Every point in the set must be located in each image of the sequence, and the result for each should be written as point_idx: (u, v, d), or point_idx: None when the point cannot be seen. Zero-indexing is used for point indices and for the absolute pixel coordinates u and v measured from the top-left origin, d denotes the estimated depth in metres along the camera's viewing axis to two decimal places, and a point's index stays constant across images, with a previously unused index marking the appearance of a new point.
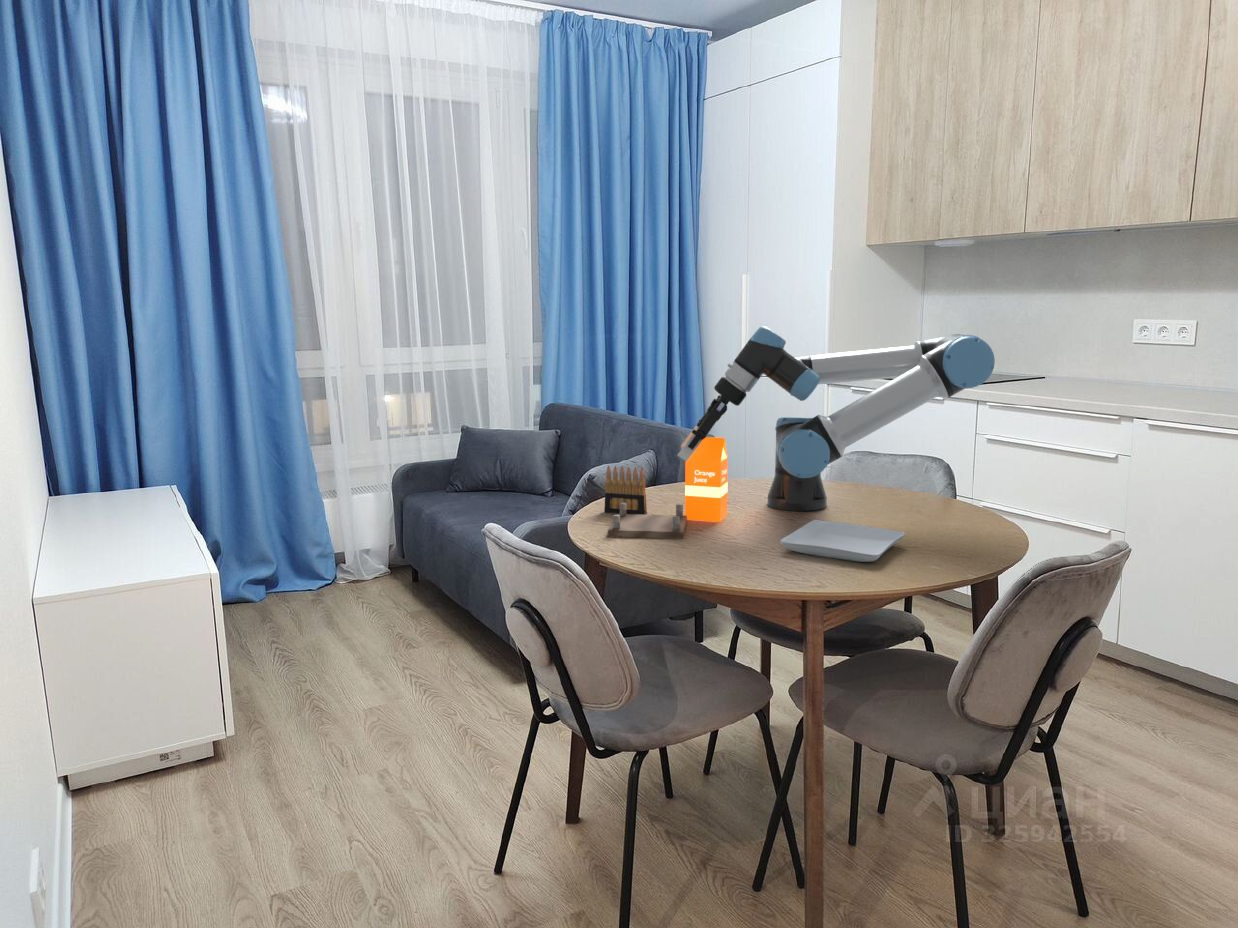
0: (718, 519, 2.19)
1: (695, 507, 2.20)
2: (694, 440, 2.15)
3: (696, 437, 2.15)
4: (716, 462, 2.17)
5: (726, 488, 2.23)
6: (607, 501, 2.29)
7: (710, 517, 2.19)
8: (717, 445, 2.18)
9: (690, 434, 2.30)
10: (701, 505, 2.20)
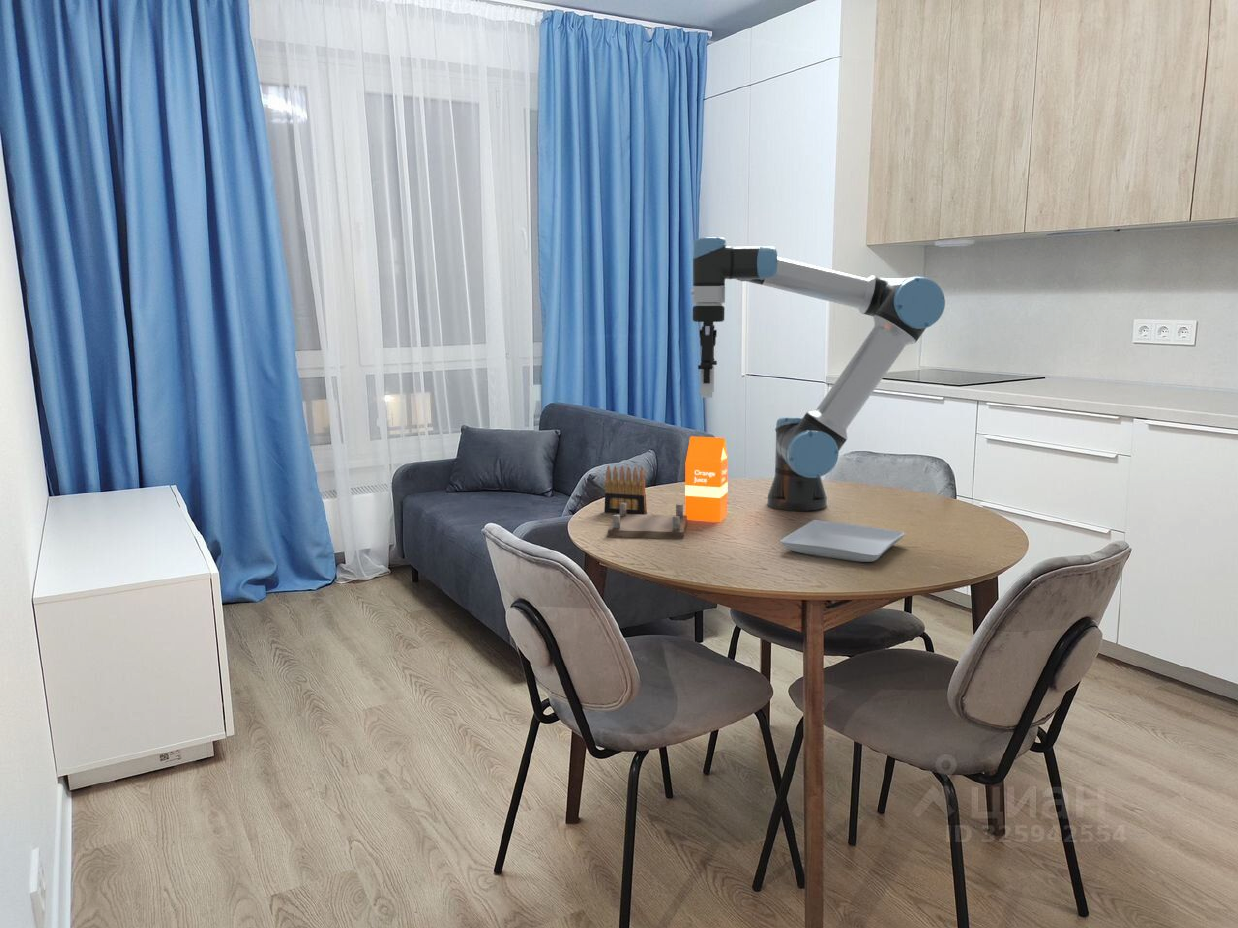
0: (718, 519, 2.19)
1: (695, 507, 2.20)
2: (705, 374, 2.09)
3: (705, 370, 2.09)
4: (716, 462, 2.17)
5: (726, 488, 2.23)
6: (607, 501, 2.29)
7: (710, 517, 2.19)
8: (717, 445, 2.18)
9: None
10: (701, 505, 2.20)
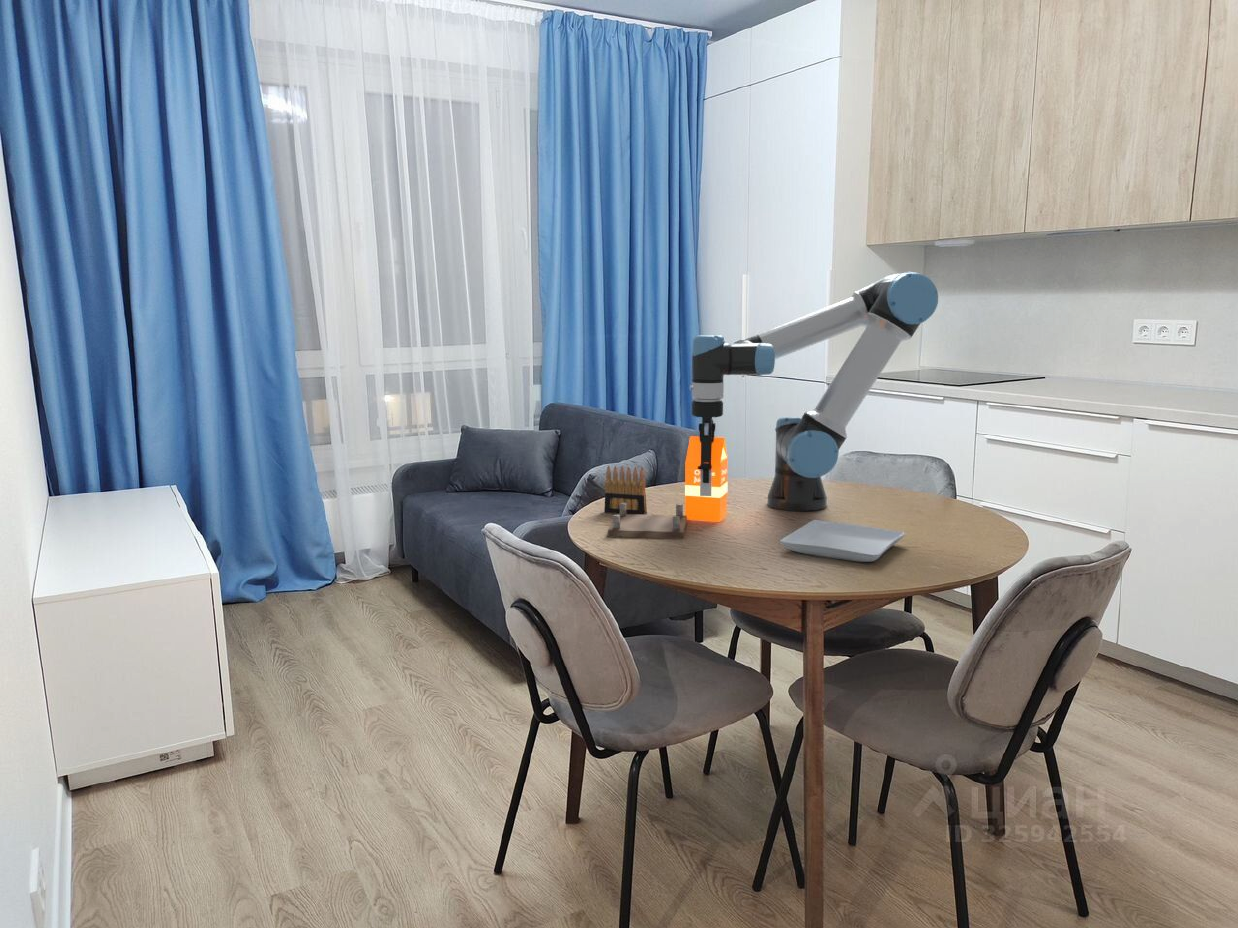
0: (718, 519, 2.19)
1: (695, 507, 2.20)
2: (704, 474, 2.15)
3: (704, 470, 2.15)
4: (716, 462, 2.17)
5: (726, 488, 2.23)
6: (607, 501, 2.29)
7: (710, 517, 2.19)
8: (717, 445, 2.18)
9: None
10: (700, 505, 2.20)
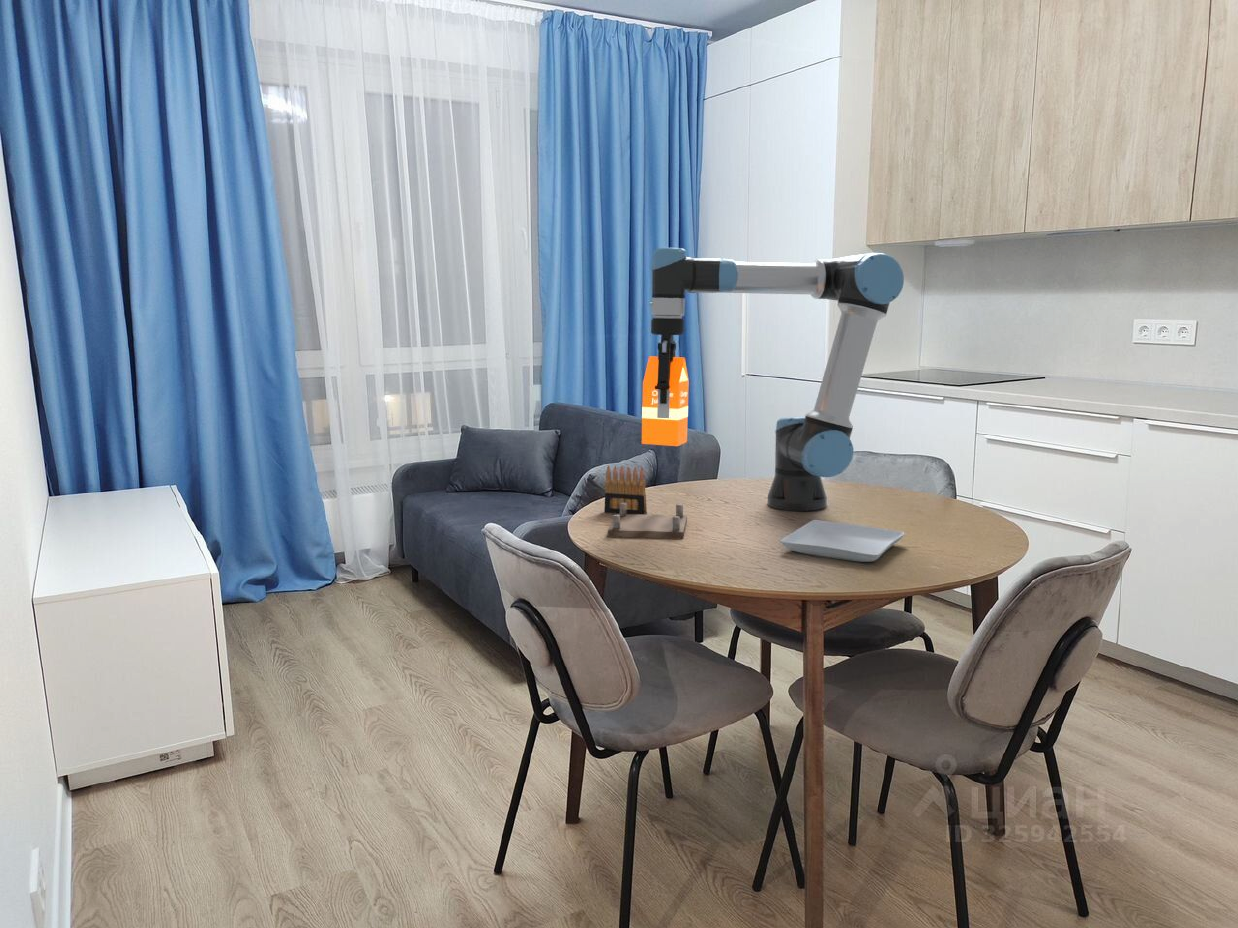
0: (676, 443, 2.08)
1: (652, 430, 2.09)
2: (662, 394, 2.04)
3: (662, 390, 2.04)
4: (674, 382, 2.06)
5: (686, 412, 2.12)
6: (607, 501, 2.29)
7: (667, 441, 2.08)
8: (677, 365, 2.07)
9: None
10: (658, 428, 2.09)
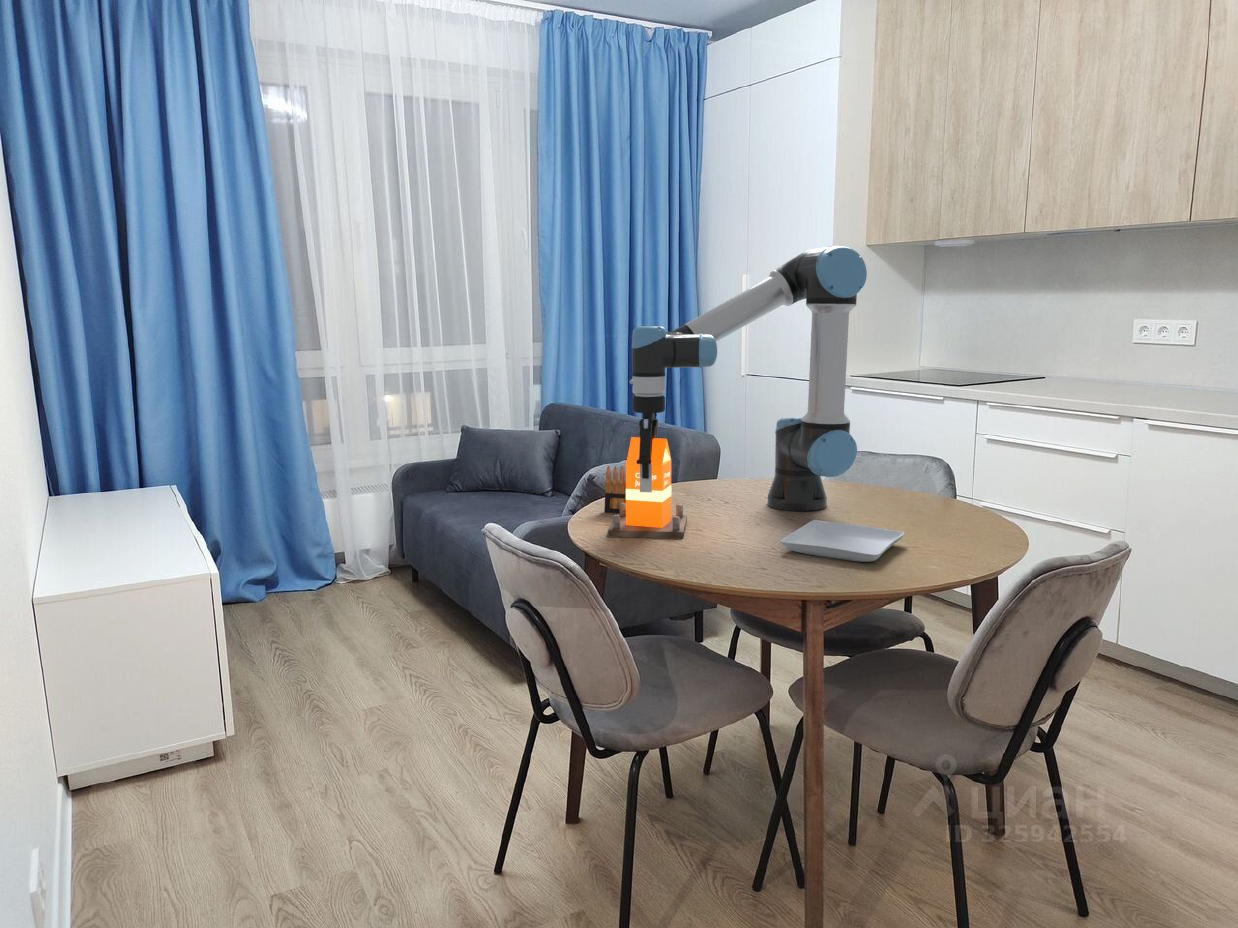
0: (660, 524, 2.07)
1: (636, 512, 2.09)
2: (644, 469, 2.02)
3: (643, 465, 2.02)
4: (658, 464, 2.05)
5: (669, 492, 2.12)
6: (607, 501, 2.29)
7: (652, 523, 2.08)
8: (659, 446, 2.07)
9: None
10: (642, 510, 2.08)
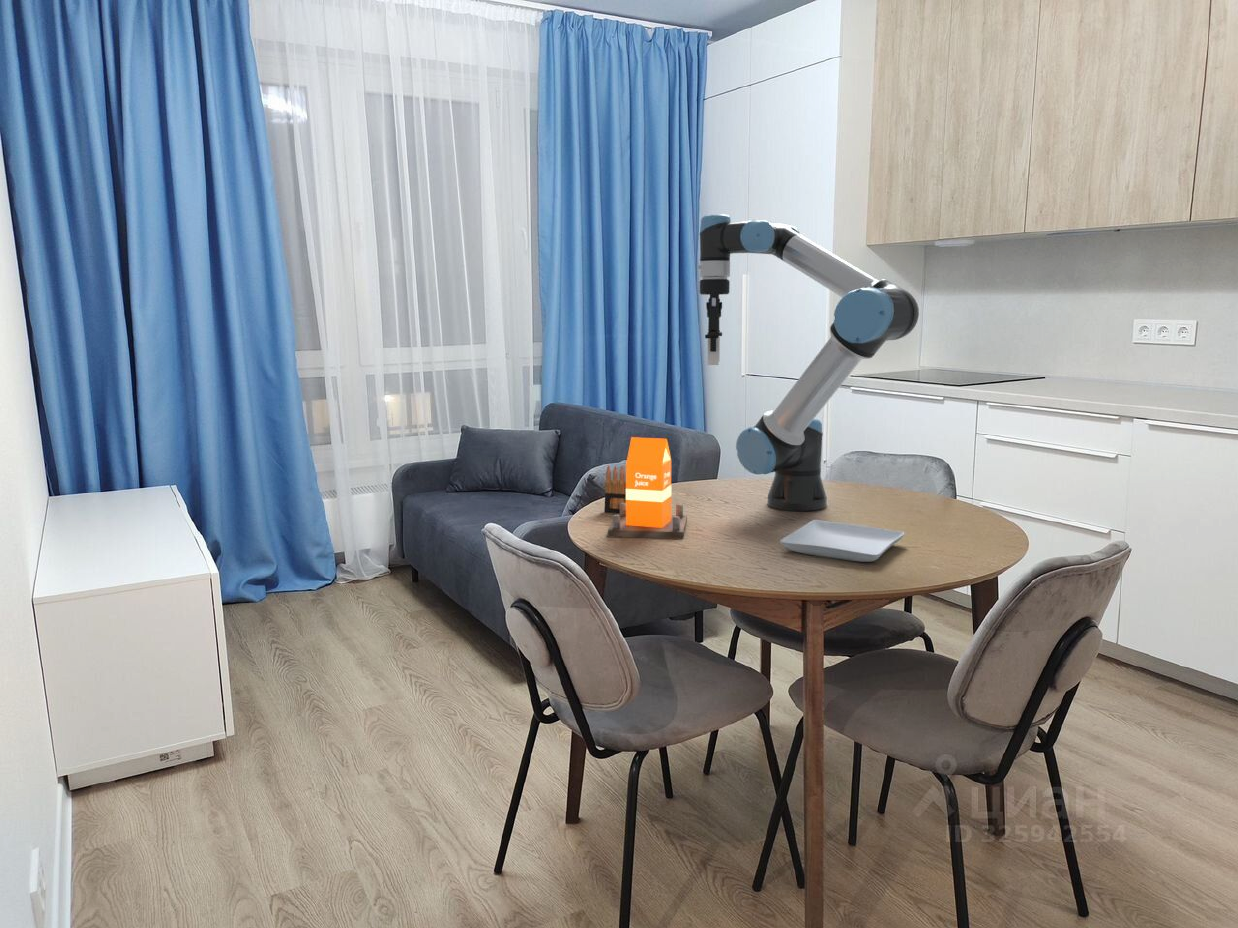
0: (660, 524, 2.07)
1: (636, 512, 2.09)
2: (712, 342, 2.24)
3: (711, 339, 2.23)
4: (658, 464, 2.05)
5: (669, 492, 2.12)
6: (607, 501, 2.29)
7: (652, 523, 2.08)
8: (659, 446, 2.07)
9: None
10: (642, 510, 2.08)
